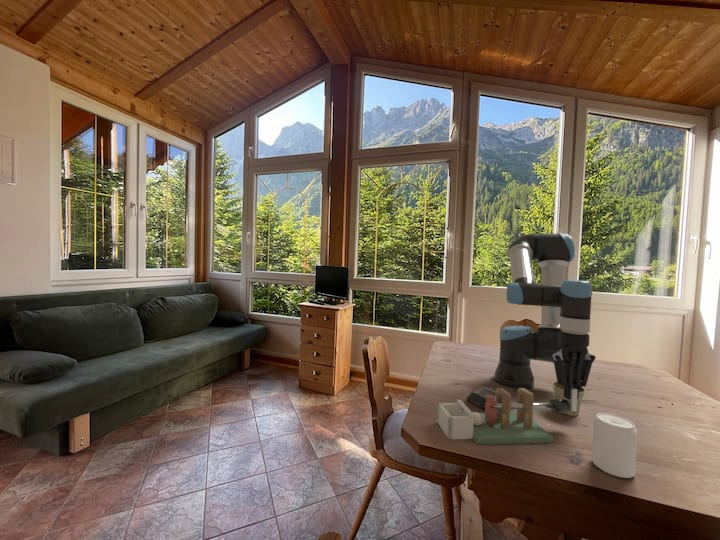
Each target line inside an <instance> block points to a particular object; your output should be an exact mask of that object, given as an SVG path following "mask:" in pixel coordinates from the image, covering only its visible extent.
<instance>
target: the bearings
mask: <svg viewBox="0 0 720 540" xmlns="http://www.w3.org/2000/svg"><path fill="white" fill-rule="evenodd" d="M495 392H496V401H495V403H502V409H495V421H496V422H501V427H502V428H503V429H505V428H509V423H510V413H511V409H510V403H511V396H512V394H511V393H510V392H508V391H507V390H505V389H504V388H503V387H500V388H499V387H495ZM516 400H517V402H516V403H524V409H516V412H517V421H518V422H524V427H525V428H532V420H533V417H534V414H533V413H534V409H533V403H534V393H533V392H531V391H530V390H529V389H525V388H517V398H516Z"/></svg>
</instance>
